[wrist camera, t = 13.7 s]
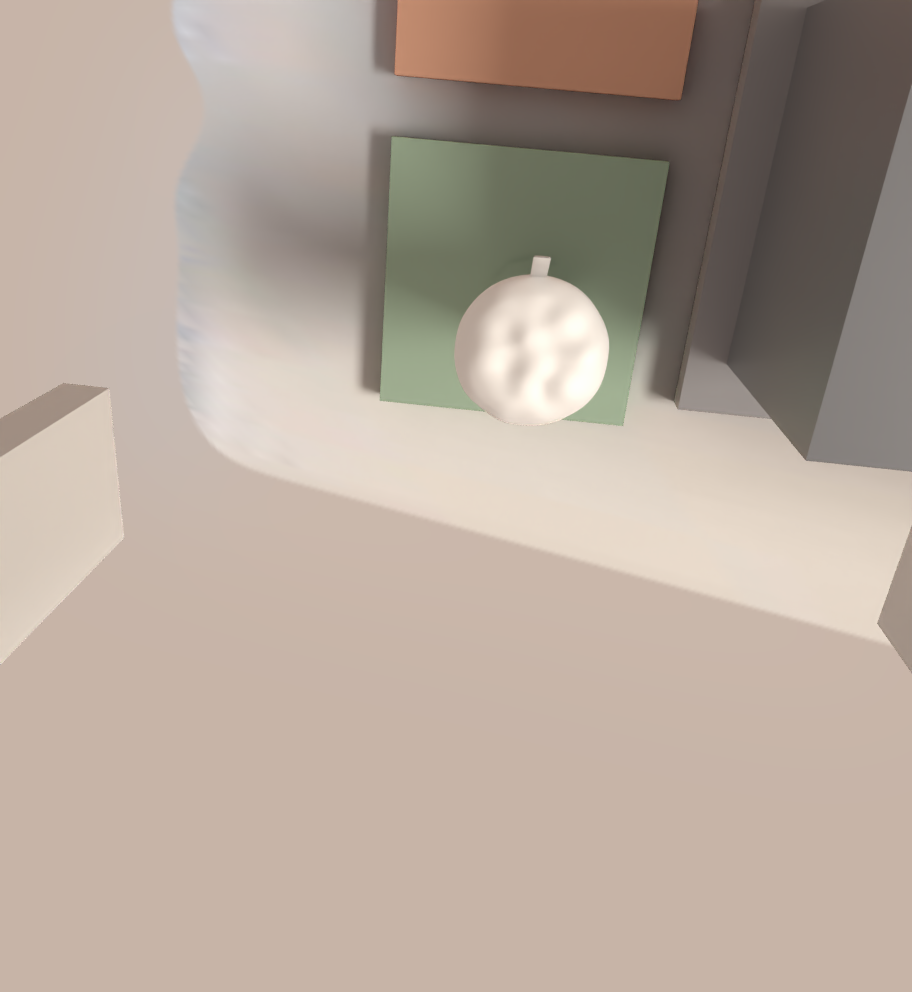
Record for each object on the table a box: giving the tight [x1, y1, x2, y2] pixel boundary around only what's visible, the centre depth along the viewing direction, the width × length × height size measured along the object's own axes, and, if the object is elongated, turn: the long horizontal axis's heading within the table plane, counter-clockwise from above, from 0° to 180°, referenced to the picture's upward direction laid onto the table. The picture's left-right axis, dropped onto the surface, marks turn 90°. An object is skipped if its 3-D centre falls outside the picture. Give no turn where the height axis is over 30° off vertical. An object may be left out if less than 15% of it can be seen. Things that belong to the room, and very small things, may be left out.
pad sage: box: [380, 136, 670, 426], centre depth 32 cm, size 10×10×1 cm
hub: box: [674, 0, 912, 472], centre depth 25 cm, size 16×8×11 cm, turn 175°
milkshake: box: [454, 256, 609, 426], centre depth 27 cm, size 4×5×10 cm
